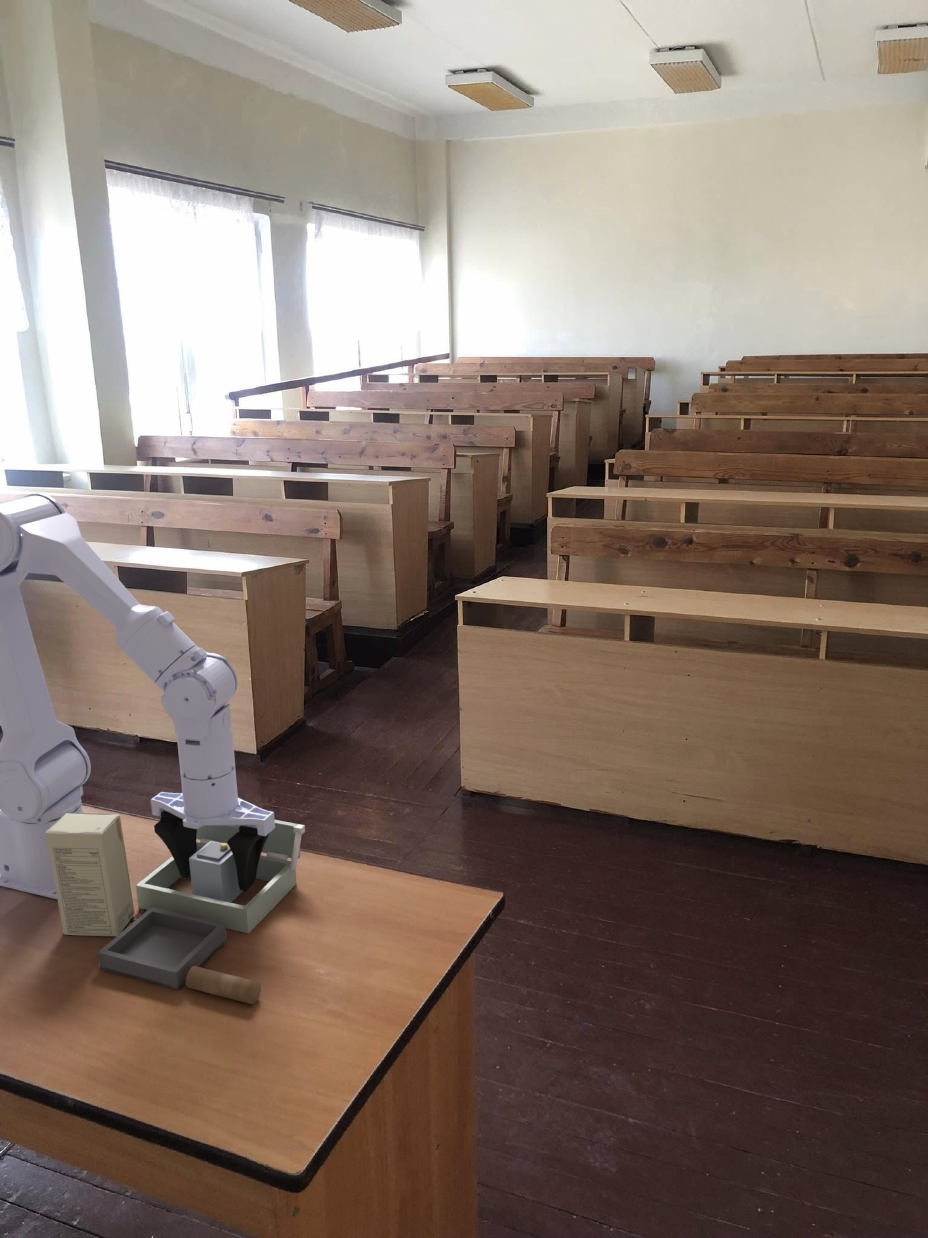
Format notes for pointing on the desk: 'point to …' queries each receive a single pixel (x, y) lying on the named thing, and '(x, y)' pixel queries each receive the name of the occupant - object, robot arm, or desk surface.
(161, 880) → the equipment case
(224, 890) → the block
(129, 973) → the socket
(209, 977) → the rod
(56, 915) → the desk surface
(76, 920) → the skincare box
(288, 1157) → the desk surface
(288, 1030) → the desk surface
